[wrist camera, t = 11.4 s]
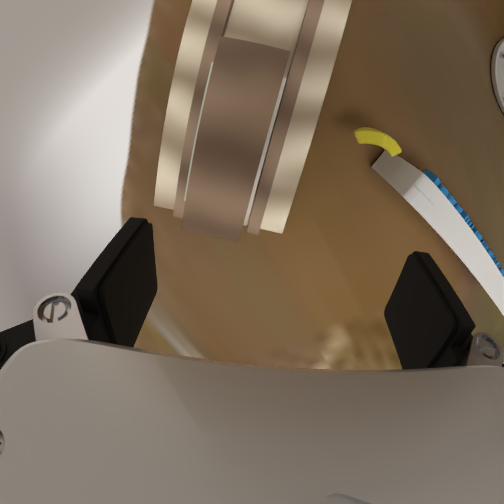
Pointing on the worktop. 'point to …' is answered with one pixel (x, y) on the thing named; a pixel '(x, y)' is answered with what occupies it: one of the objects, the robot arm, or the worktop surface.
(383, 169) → the white and blue box
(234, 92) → the brown rectangular block
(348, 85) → the worktop surface
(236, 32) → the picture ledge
